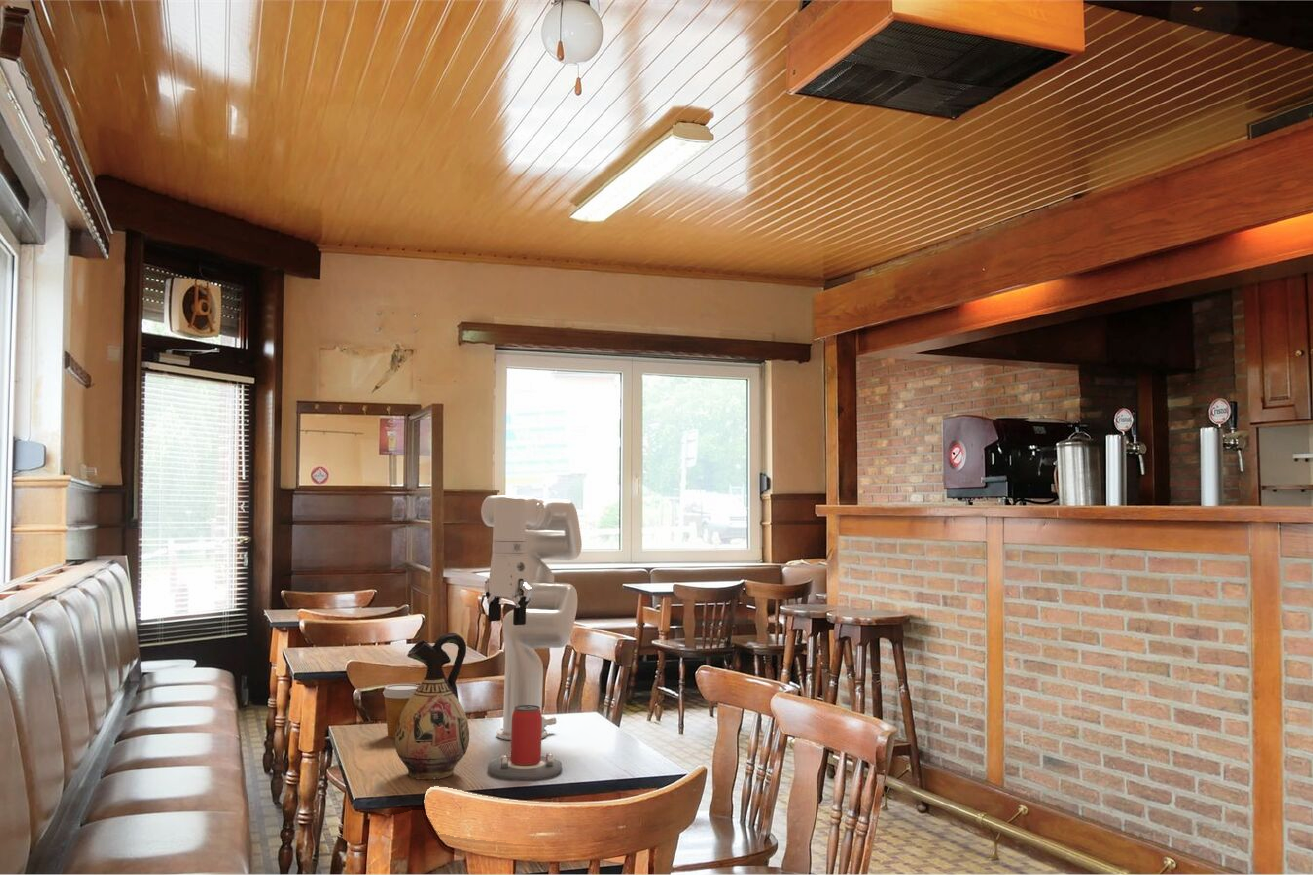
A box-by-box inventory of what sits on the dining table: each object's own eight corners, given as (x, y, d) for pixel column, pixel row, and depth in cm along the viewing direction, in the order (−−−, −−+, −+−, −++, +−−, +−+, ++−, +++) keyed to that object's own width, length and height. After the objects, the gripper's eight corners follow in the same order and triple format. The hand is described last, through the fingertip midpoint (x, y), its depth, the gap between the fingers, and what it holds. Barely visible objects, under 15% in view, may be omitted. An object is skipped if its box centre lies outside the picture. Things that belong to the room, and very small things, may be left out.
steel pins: (522, 756, 230) (523, 745, 230) (554, 766, 222) (554, 754, 222) (485, 763, 223) (486, 751, 223) (517, 773, 215) (517, 761, 215)
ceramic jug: (400, 787, 208) (406, 637, 210) (388, 769, 222) (393, 629, 225) (483, 780, 215) (487, 635, 217) (466, 763, 229) (470, 627, 231)
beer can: (545, 761, 226) (547, 705, 226) (532, 768, 219) (534, 710, 220) (518, 758, 228) (520, 703, 229) (504, 764, 221) (506, 708, 222)
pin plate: (532, 758, 234) (532, 751, 235) (577, 772, 223) (577, 764, 223) (473, 769, 223) (473, 762, 223) (517, 784, 212) (517, 776, 212)
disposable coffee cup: (428, 735, 257) (430, 686, 258) (400, 741, 249) (402, 691, 250) (401, 730, 262) (403, 682, 263) (372, 736, 254) (374, 687, 255)
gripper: (544, 550, 237) (542, 625, 235) (500, 547, 249) (498, 618, 248) (518, 550, 231) (516, 627, 230) (474, 547, 244) (471, 620, 242)
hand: (506, 622), depth 239 cm, fingers open, 9 cm apart
